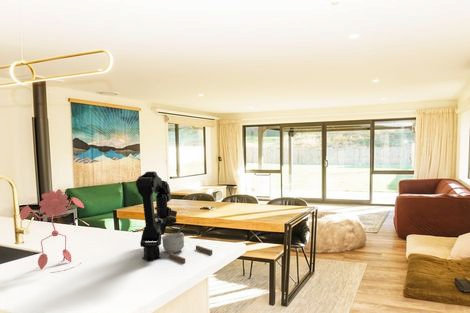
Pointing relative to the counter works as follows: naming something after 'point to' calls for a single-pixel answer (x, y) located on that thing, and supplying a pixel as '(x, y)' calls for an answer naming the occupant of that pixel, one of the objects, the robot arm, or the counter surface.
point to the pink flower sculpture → (52, 206)
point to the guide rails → (184, 258)
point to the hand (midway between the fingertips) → (162, 234)
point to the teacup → (173, 242)
